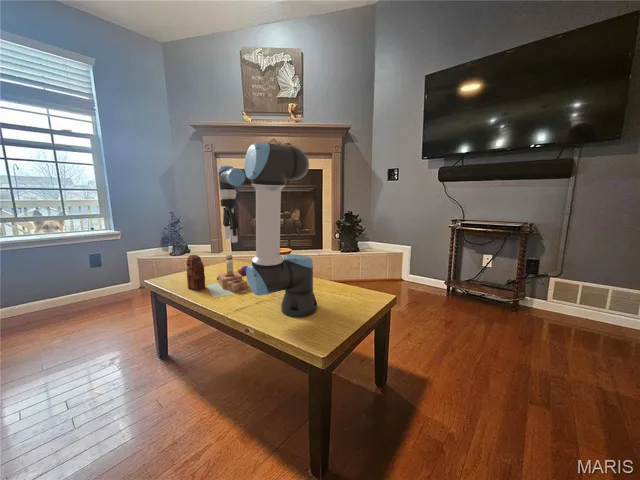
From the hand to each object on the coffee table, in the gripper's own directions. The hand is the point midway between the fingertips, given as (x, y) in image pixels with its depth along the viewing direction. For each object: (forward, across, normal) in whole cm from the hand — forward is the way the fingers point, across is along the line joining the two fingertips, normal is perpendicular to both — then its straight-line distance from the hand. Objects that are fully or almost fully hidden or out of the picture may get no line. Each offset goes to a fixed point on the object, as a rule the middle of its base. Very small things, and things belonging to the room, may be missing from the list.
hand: (231, 240), depth 132 cm
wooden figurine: (+25, +6, +18) cm, 31 cm away
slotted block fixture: (+25, -3, +5) cm, 25 cm away
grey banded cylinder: (+24, +1, +2) cm, 24 cm away
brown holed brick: (+24, -8, +1) cm, 25 cm away
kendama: (+25, +14, -4) cm, 29 cm away
